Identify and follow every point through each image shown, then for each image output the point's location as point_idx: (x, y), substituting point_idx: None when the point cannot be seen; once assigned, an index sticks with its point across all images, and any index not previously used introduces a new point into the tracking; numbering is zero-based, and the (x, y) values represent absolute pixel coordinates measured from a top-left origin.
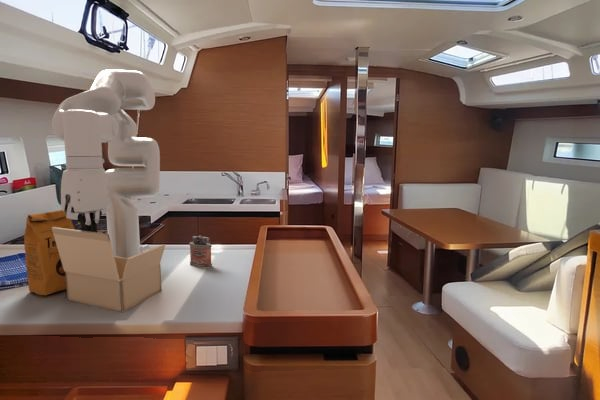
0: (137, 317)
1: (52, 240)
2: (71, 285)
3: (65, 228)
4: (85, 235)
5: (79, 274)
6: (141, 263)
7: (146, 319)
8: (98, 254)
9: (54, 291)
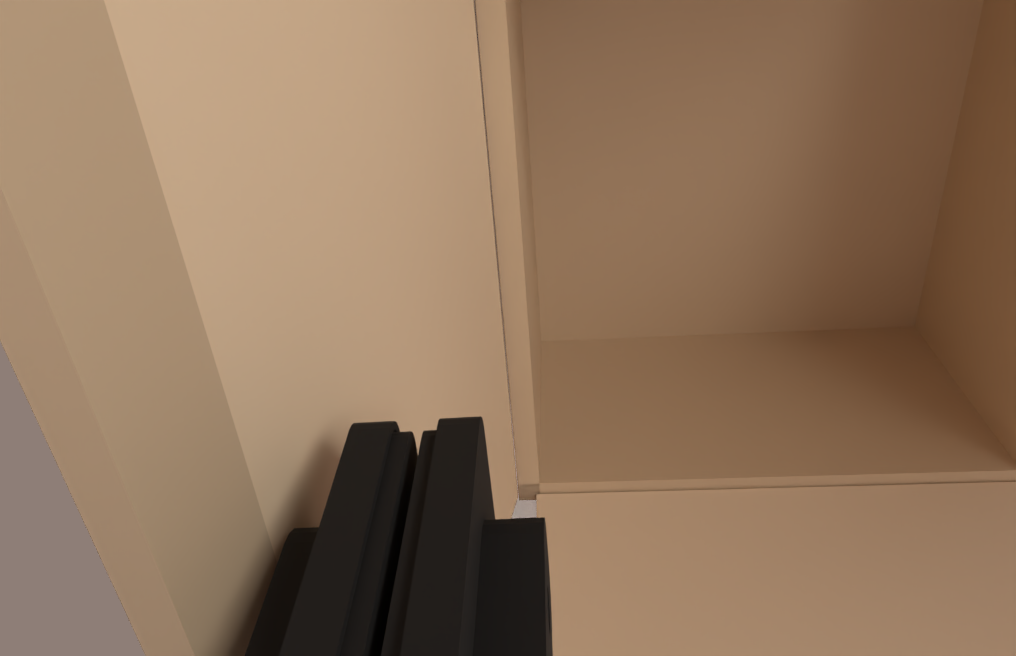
0: (514, 455)
1: None
2: None
3: (24, 256)
4: None
5: (475, 4)
6: (738, 605)
7: (517, 505)
8: None
9: None
